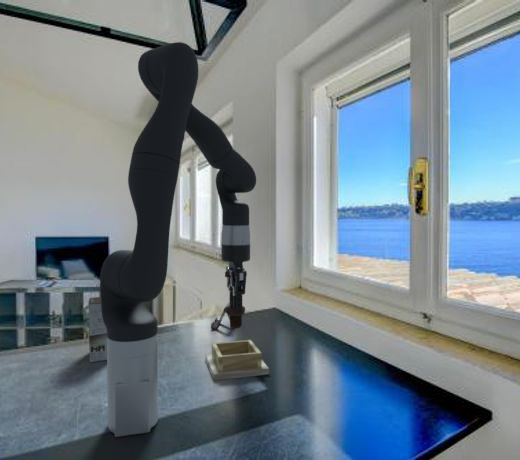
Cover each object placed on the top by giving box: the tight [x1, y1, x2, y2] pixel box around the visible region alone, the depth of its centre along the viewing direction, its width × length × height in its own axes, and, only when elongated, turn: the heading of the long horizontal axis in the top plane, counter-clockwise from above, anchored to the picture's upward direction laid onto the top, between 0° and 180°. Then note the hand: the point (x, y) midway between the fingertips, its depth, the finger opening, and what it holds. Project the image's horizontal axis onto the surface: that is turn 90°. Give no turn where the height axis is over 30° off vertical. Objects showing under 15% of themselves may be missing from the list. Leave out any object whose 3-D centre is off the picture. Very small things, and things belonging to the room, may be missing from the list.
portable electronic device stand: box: [210, 301, 230, 331], centre depth 140 cm, size 9×8×8 cm
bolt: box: [224, 269, 248, 330], centre depth 103 cm, size 6×5×15 cm
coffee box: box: [88, 296, 107, 363], centre depth 111 cm, size 9×6×16 cm
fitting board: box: [205, 339, 270, 381], centre depth 103 cm, size 14×14×5 cm
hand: (235, 307), depth 103 cm, fingers closed on bolt, 4 cm apart
